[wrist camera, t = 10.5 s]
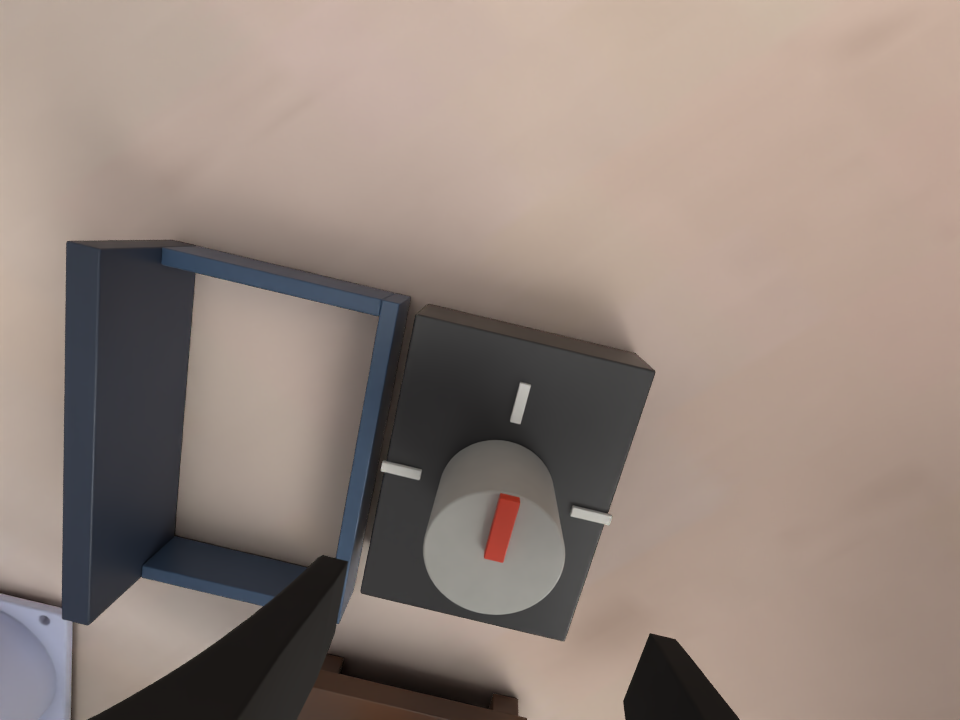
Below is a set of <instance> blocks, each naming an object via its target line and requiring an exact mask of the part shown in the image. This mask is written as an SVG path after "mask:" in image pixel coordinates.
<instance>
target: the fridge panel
mask: <svg viewBox="0 0 960 720" xmlns="http://www.w3.org/2000/svg"><path fill="white" fill-rule="evenodd" d="M654 375H655V370H653V369H652V368H651V367H650V366H649V365H648V364H647V363H646V362H645V361H644V360H642V359H641V358H640V357H639V356H638V355H637V354H636V353H632V352H628V351H624V350H620V349H615V348H611V347H607V346H603V345H599V344H595V343H590V342H586V341H582V340H578V339H574V338H569V337H565V336H561V335H557V334H553V333H548V332H544V331H540V330H536V329H532V328H528V327H523V326H519V325H515V324H511V323H507V322H502V321H498V320H494V319H490V318H486V317H481V316H477V315H473V314H469V313H465V312H461V311H456V310H452V309H448V308H444V307H440V306H435V305H431V304H428V305H427V306H425V307H424V308H423V309H422V310H421V311H419V312H418V313H417V314H416V315H415V320H414V325H413V330H412V335H411V340H410V345H409V350H408V355H407V360H406V365H405V370H404V375H403V380H402V385H401V390H400V395H399V400H398V405H397V410H396V415H395V420H394V425H393V430H392V435H391V440H390V445H389V450H388V455H387V460H386V461H384V460H383V462H382V466H381V471H382V472H384V475H383V480H382V485H381V490H380V495H379V501H378V506H377V511H376V516H375V521H374V526H373V531H372V536H371V541H370V546H369V551H368V556H367V561H366V566H365V571H364V576H363V581H362V586H361V593H362V594H365V595H369V596H374V597H378V598H382V599H386V600H391V601H395V602H399V603H403V604H407V605H412V606H416V607H420V608H424V609H429V610H433V611H437V612H441V613H446V614H450V615H454V616H458V617H462V618H467V619H471V620H475V621H479V622H484V623H488V624H492V625H496V626H500V627H505V628H509V629H513V630H517V631H522V632H526V633H530V634H534V635H538V636H543V637H547V638H551V639H555V640H560V641H565V639H566V636H567V633H568V630H569V627H570V624H571V621H572V618H573V615H574V612H575V609H576V606H577V603H578V601H579V598H580V595H581V592H582V589H583V586H584V583H585V580H586V577H587V574H588V571H589V568H590V565H591V562H592V559H593V556H594V553H595V550H596V547H597V544H598V541H599V538H600V535H601V532H602V529H603V526H604V524H606V525H610V522H611V519H612V515H611V514H608V512H609V509H610V506H611V503H612V500H613V497H614V494H615V491H616V488H617V485H618V482H619V479H620V476H621V473H622V470H623V467H624V464H625V461H626V458H627V455H628V452H629V449H630V446H631V443H632V440H633V438H634V435H635V432H636V429H637V426H638V423H639V420H640V417H641V414H642V411H643V408H644V405H645V402H646V399H647V396H648V393H649V390H650V387H651V384H652V381H653V378H654ZM487 440H503V441H509V442H513V443H516V444H519V445H521V446H523V447H525V448H527V449H528V450H530V451H532V452H533V453H534V454H535V455H537V456H538V457H539V458H540V459H541V460H542V462H543V463H544V464H545V466H546V467H547V469H548V471H549V473H550V475H551V478H552V481H553V486H554V491H555V496H556V502H557V507H558V513H559V518H560V524H561V529H562V535H563V540H564V546H565V562H564V567H563V571H562V573H561V576H560V578H559V580H558V582H557V583H556V585H555V587H554V588H553V589H552V590H551V592H550V593H549V594H548V595H547V596H546V597H545V598H543V599H542V600H541V601H539V602H538V603H536V604H535V605H533V606H531V607H529V608H527V609H524V610H522V611H518V612H515V613H510V614H501V615H492V614H483V613H477V612H474V611H471V610H468V609H465V608H463V607H461V606H459V605H457V604H455V603H454V602H452V601H451V600H449V599H448V598H447V597H446V596H445V595H443V594H442V593H441V592H440V591H439V589H438V588H437V587H436V586H435V585H434V583H433V581H432V580H431V578H430V576H429V574H428V572H427V569H426V566H425V563H424V557H423V543H424V537H425V533H426V530H427V526H428V523H429V519H430V515H431V512H432V508H433V505H434V501H435V497H436V494H437V490H438V487H439V483H440V479H441V476H442V473H443V471H444V469H445V467H446V466H447V464H448V463H449V461H450V460H451V459H452V458H453V457H454V456H455V455H456V454H457V453H458V452H459V451H461V450H463V449H464V448H466V447H468V446H470V445H472V444H475V443H478V442H482V441H487Z"/></svg>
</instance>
